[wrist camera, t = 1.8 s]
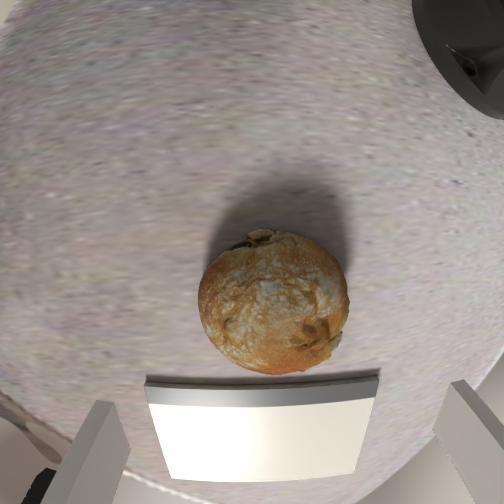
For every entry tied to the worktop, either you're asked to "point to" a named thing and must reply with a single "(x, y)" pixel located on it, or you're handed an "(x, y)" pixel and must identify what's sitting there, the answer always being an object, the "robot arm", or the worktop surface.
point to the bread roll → (274, 302)
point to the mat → (261, 428)
